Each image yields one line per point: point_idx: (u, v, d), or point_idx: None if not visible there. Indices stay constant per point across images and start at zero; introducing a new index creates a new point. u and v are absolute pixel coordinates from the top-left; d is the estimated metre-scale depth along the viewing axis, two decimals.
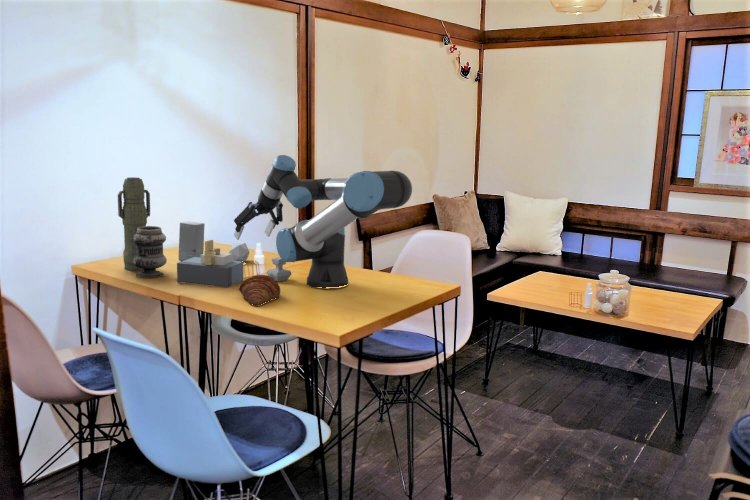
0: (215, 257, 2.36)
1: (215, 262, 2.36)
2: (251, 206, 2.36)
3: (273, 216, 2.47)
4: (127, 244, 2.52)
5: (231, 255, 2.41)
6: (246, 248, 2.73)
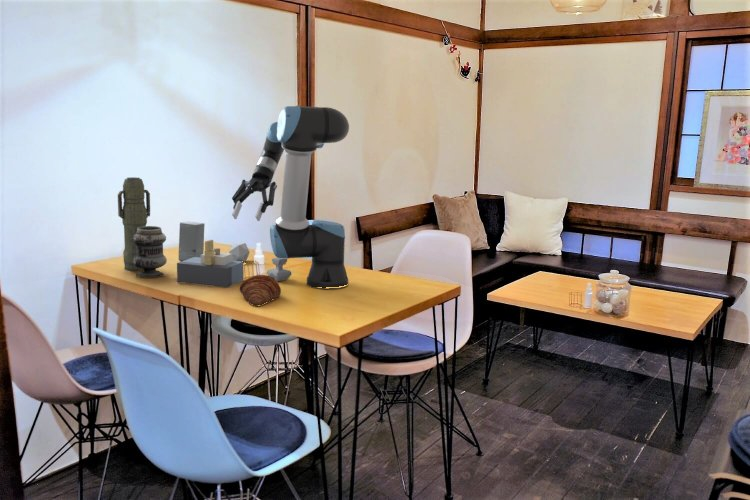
0: (215, 257, 2.36)
1: (215, 262, 2.36)
2: None
3: (263, 192, 2.47)
4: (127, 244, 2.52)
5: (231, 255, 2.41)
6: (246, 248, 2.73)
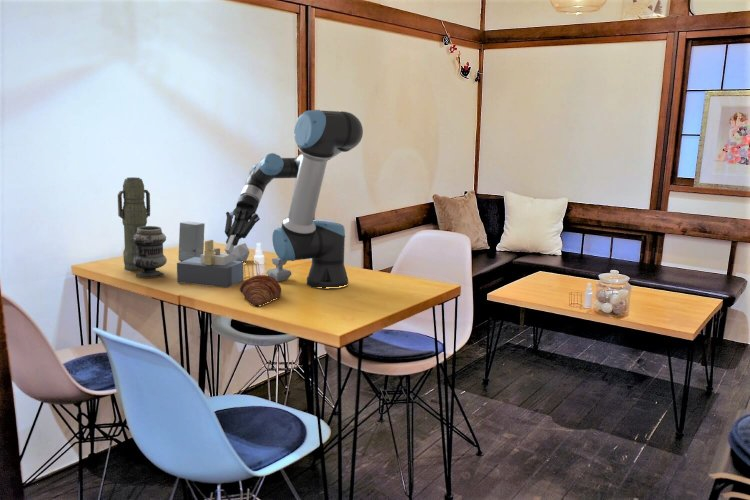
0: (215, 257, 2.36)
1: (215, 262, 2.36)
2: None
3: (240, 224, 2.37)
4: (127, 244, 2.52)
5: (231, 255, 2.41)
6: (246, 248, 2.73)
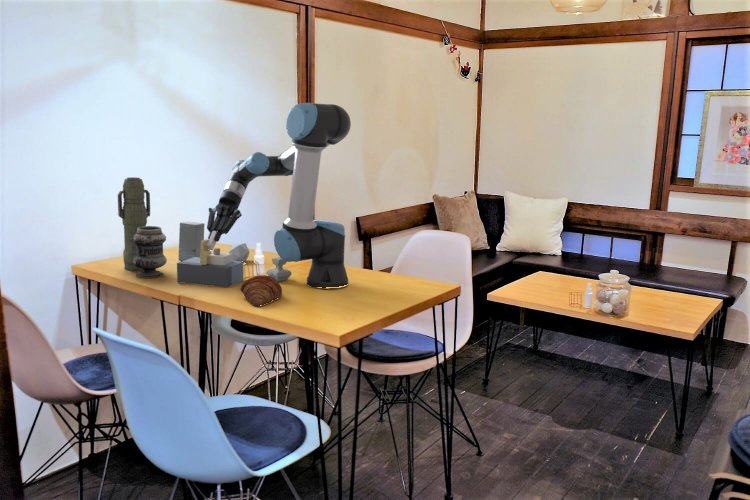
0: (215, 257, 2.36)
1: (215, 262, 2.36)
2: None
3: (222, 219, 2.40)
4: (127, 244, 2.52)
5: (231, 255, 2.41)
6: (246, 248, 2.73)
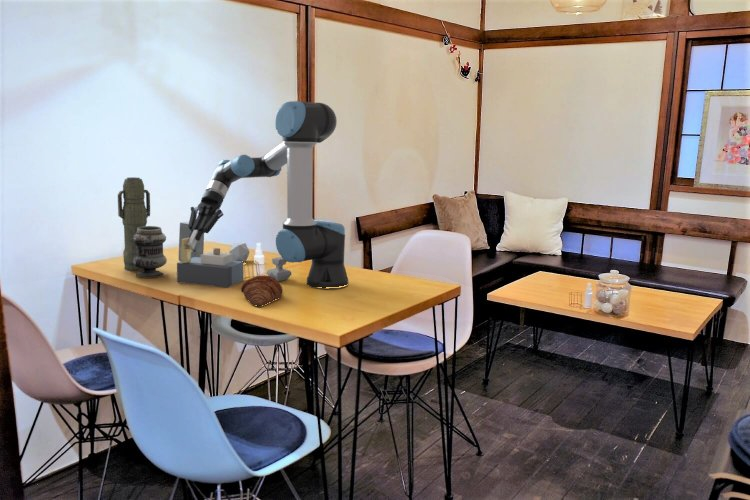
0: (215, 257, 2.36)
1: (215, 262, 2.36)
2: None
3: (204, 219, 2.42)
4: (127, 244, 2.52)
5: (231, 255, 2.41)
6: (246, 248, 2.73)
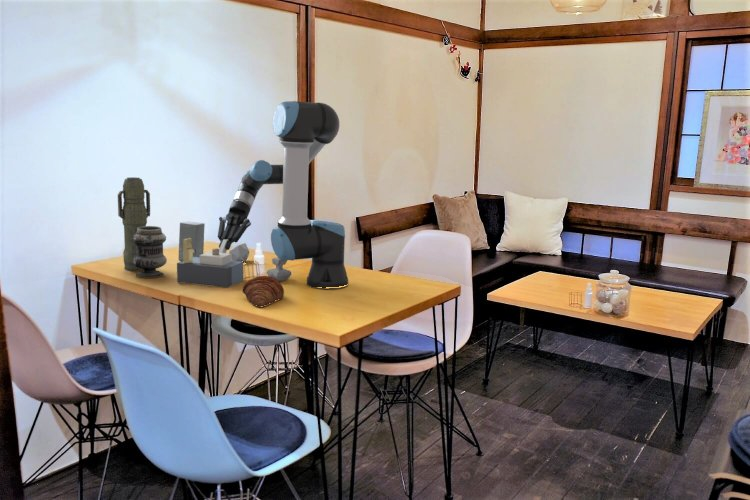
0: (214, 257, 2.35)
1: (214, 262, 2.36)
2: None
3: (232, 228, 2.49)
4: (127, 244, 2.52)
5: (230, 255, 2.40)
6: (246, 248, 2.73)
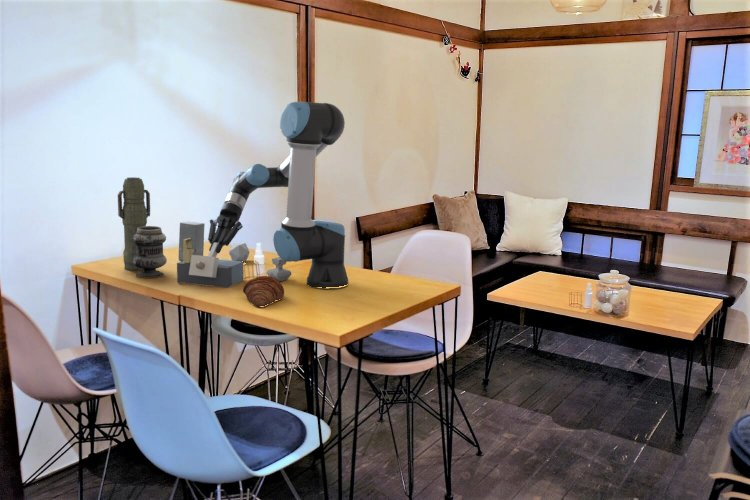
0: (204, 276, 2.30)
1: (206, 276, 2.32)
2: None
3: (223, 231, 2.42)
4: (127, 244, 2.52)
5: (215, 259, 2.30)
6: (246, 248, 2.73)
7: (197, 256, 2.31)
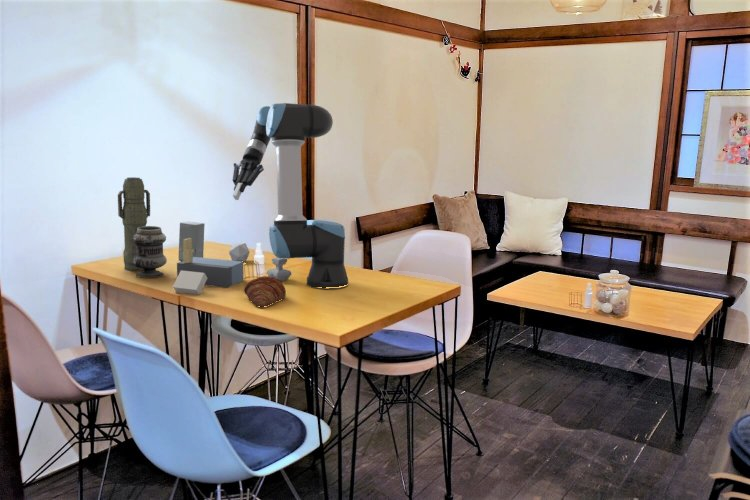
0: None
1: None
2: (234, 165, 2.68)
3: (246, 173, 2.64)
4: (127, 244, 2.52)
5: (200, 291, 2.22)
6: (246, 248, 2.73)
7: None
